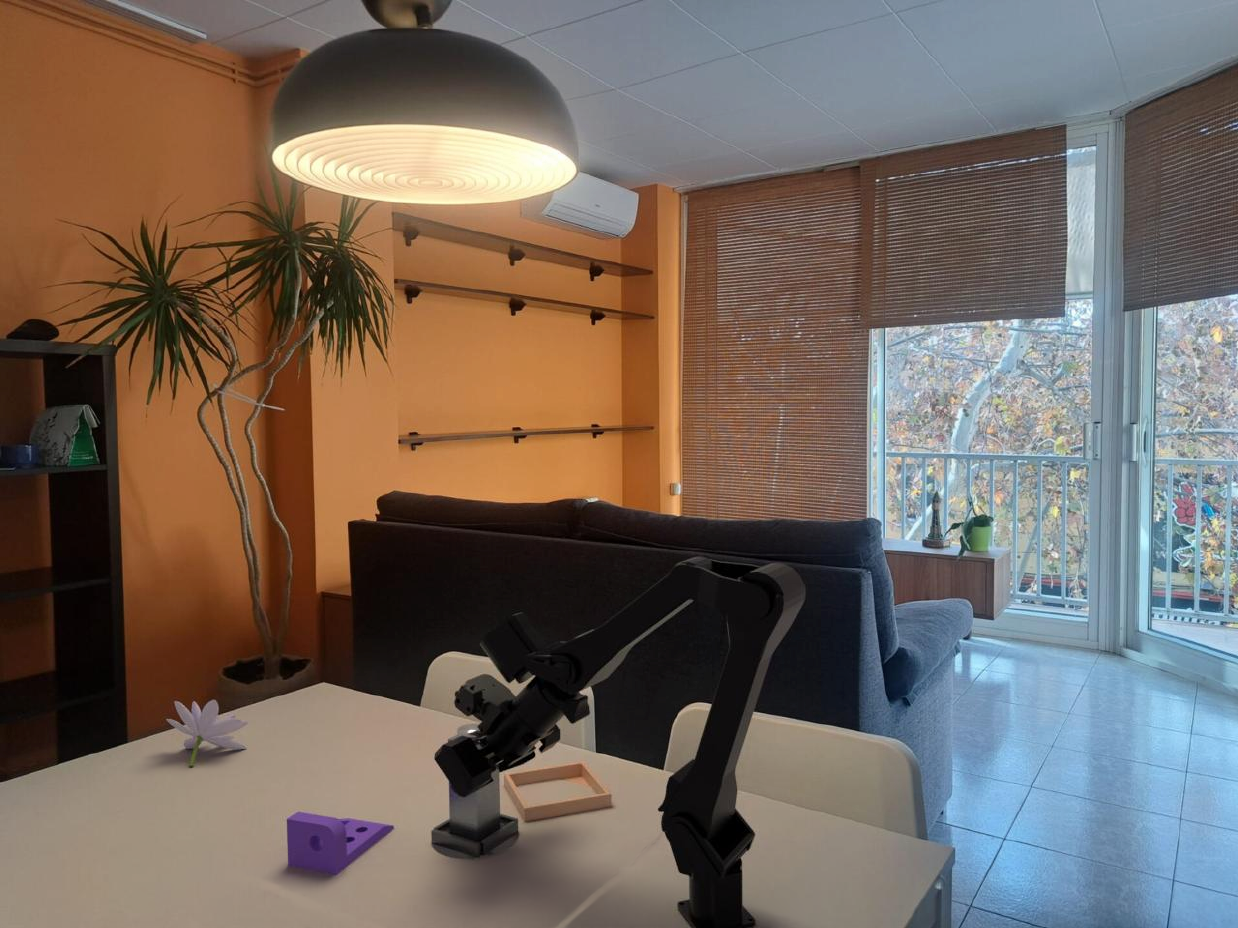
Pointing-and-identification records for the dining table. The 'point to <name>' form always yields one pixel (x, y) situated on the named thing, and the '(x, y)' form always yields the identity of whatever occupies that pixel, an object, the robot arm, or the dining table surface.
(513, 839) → the socket cup
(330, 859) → the bracket
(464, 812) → the strut
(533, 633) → the robot arm
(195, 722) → the water lily
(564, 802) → the tray
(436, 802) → the dining table surface
